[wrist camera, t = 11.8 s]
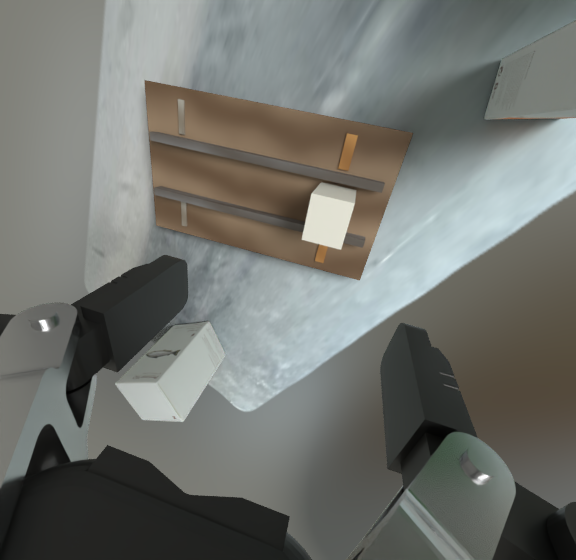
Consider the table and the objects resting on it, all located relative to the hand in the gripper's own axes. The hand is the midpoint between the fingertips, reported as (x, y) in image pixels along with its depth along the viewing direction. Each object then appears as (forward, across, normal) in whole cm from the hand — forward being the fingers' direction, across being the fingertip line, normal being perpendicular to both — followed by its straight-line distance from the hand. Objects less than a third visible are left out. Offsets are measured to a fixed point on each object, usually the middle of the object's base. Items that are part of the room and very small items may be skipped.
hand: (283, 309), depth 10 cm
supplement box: (+22, +16, +28) cm, 39 cm away
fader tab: (+20, 0, +1) cm, 20 cm away
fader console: (+22, +8, +1) cm, 23 cm away
